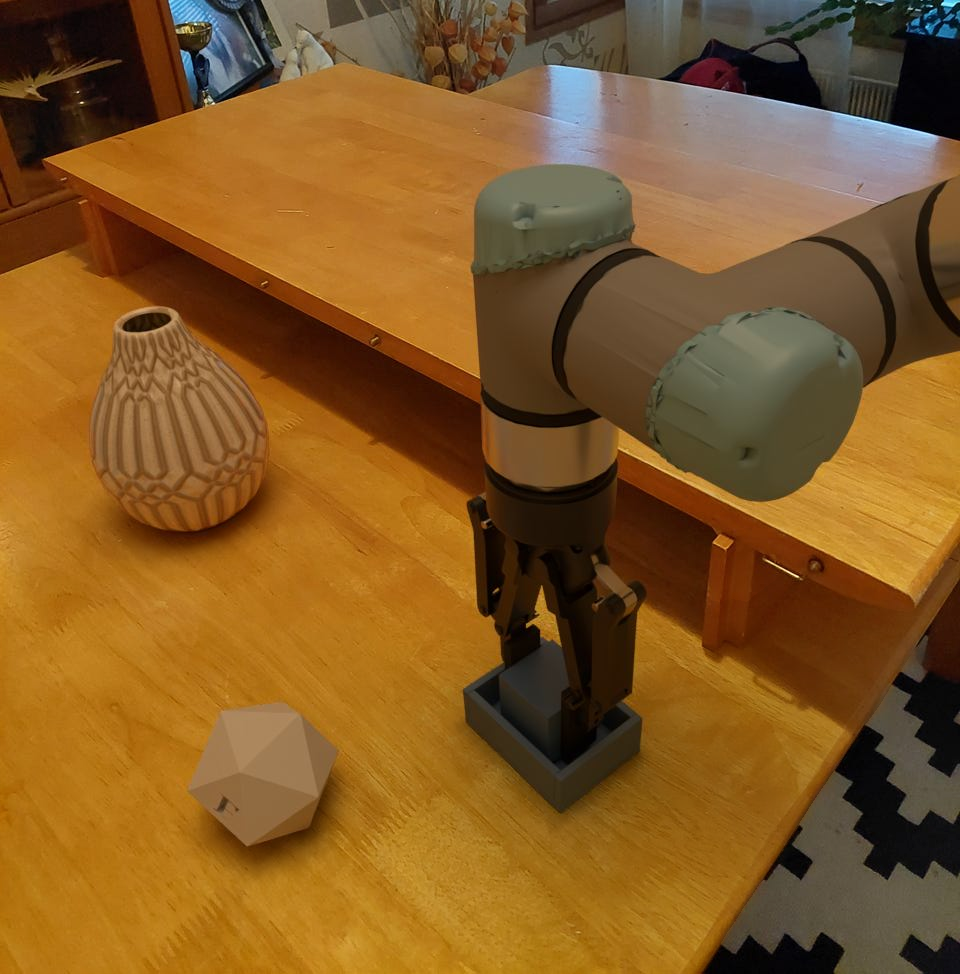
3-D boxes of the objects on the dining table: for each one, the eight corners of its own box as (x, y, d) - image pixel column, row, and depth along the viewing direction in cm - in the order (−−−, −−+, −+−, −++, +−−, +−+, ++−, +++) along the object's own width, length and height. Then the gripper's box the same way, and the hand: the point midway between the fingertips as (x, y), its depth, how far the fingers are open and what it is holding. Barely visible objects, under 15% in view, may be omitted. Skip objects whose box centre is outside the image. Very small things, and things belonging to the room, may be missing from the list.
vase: (246, 564, 83) (194, 370, 71) (84, 551, 86) (8, 361, 74) (303, 462, 96) (267, 282, 84) (160, 452, 98) (105, 277, 86)
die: (202, 781, 66) (140, 787, 56) (284, 679, 67) (237, 668, 58) (290, 861, 64) (241, 882, 54) (373, 755, 65) (339, 757, 56)
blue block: (600, 726, 66) (602, 679, 63) (548, 766, 63) (547, 718, 60) (552, 685, 69) (552, 638, 66) (500, 721, 66) (498, 674, 63)
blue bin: (640, 750, 65) (643, 717, 63) (560, 814, 62) (560, 781, 59) (542, 668, 72) (542, 636, 70) (465, 721, 68) (462, 688, 66)
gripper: (722, 500, 48) (683, 774, 62) (498, 372, 59) (507, 627, 73) (621, 566, 44) (603, 840, 58) (402, 415, 56) (432, 675, 70)
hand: (550, 721), depth 66 cm, fingers closed on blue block, 5 cm apart
